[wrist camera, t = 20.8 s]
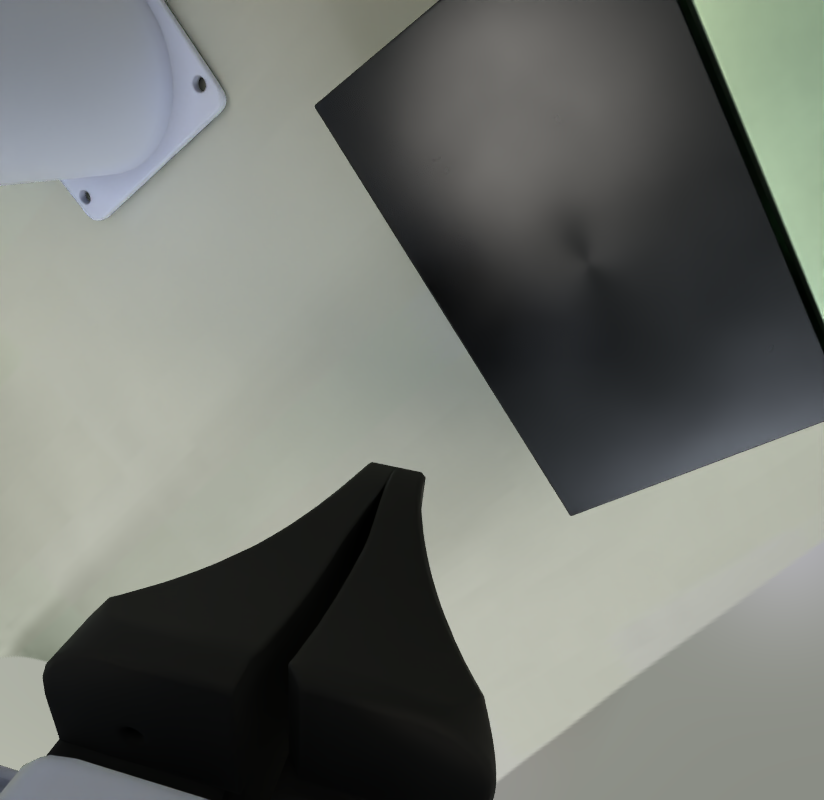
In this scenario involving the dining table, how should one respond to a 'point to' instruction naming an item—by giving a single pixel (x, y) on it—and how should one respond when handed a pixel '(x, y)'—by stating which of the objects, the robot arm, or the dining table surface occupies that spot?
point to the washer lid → (586, 233)
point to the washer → (775, 117)
